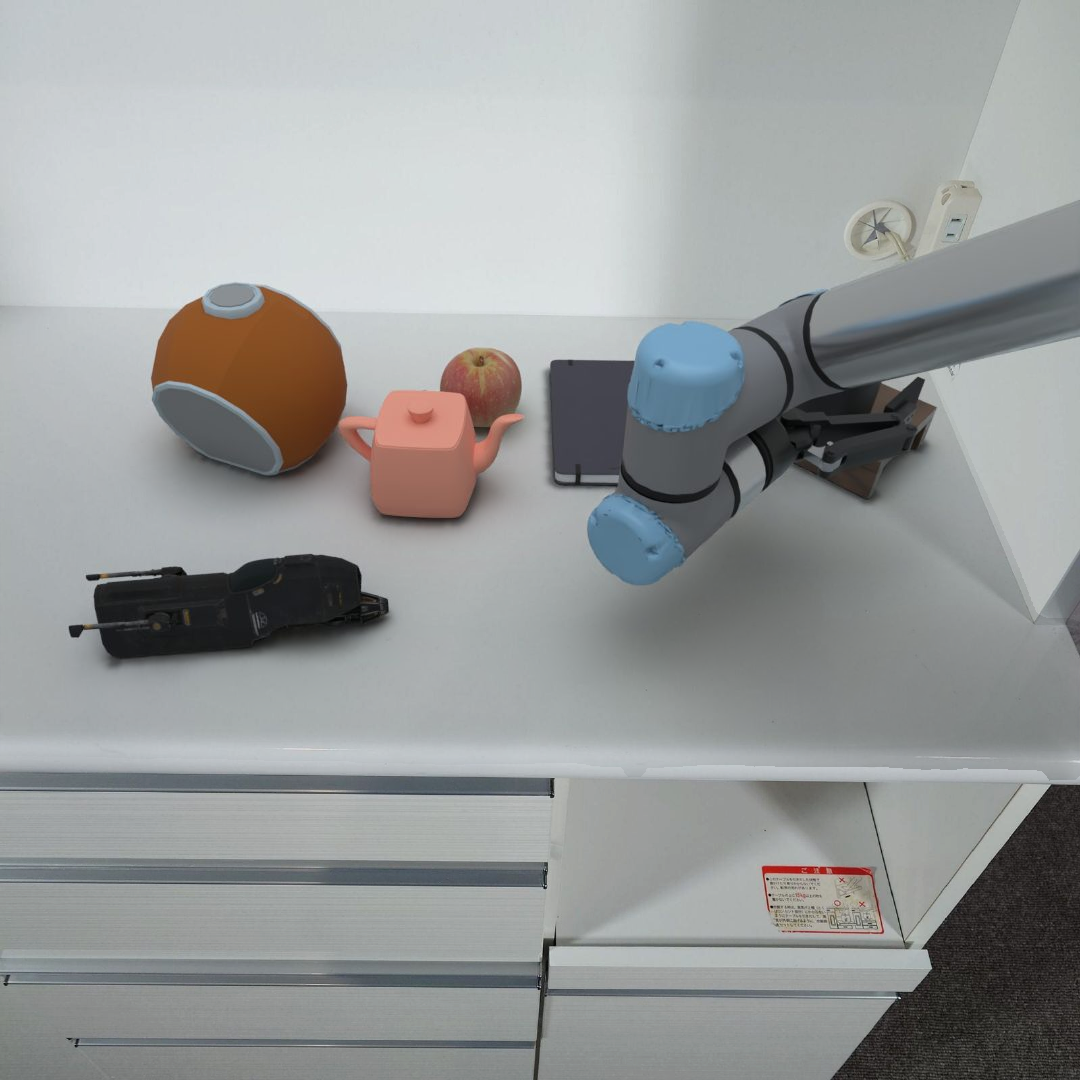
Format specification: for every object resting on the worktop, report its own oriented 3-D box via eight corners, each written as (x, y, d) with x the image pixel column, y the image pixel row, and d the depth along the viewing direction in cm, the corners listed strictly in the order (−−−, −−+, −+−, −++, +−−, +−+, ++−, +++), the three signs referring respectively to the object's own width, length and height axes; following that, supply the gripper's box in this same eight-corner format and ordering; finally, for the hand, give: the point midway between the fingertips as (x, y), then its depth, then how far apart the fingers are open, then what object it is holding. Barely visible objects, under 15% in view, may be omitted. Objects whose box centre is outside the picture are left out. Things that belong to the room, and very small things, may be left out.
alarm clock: (383, 417, 103) (368, 274, 91) (296, 513, 91) (265, 363, 79) (239, 377, 108) (206, 236, 96) (139, 462, 96) (87, 315, 84)
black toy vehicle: (107, 611, 82) (75, 546, 76) (390, 588, 84) (379, 522, 78) (89, 672, 77) (53, 607, 72) (389, 646, 79) (377, 581, 74)
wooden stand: (922, 444, 102) (943, 391, 97) (867, 499, 95) (887, 446, 90) (804, 389, 109) (818, 338, 104) (744, 438, 102) (756, 385, 97)
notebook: (676, 486, 96) (654, 371, 111) (678, 474, 95) (656, 360, 110) (554, 485, 95) (549, 370, 111) (554, 473, 94) (549, 358, 110)
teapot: (356, 449, 99) (345, 366, 91) (524, 457, 99) (526, 374, 91) (335, 521, 90) (321, 437, 83) (519, 530, 90) (520, 446, 83)
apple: (519, 443, 100) (519, 381, 95) (437, 439, 100) (433, 377, 95) (523, 397, 106) (524, 336, 101) (446, 393, 107) (443, 333, 101)
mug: (899, 405, 99) (928, 331, 92) (832, 448, 93) (858, 373, 87) (827, 365, 104) (850, 293, 97) (759, 404, 98) (779, 330, 91)
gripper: (612, 433, 87) (737, 346, 98) (851, 563, 75) (961, 447, 87) (619, 365, 81) (750, 282, 93) (877, 494, 70) (990, 380, 81)
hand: (852, 361), depth 90 cm, fingers open, 13 cm apart
